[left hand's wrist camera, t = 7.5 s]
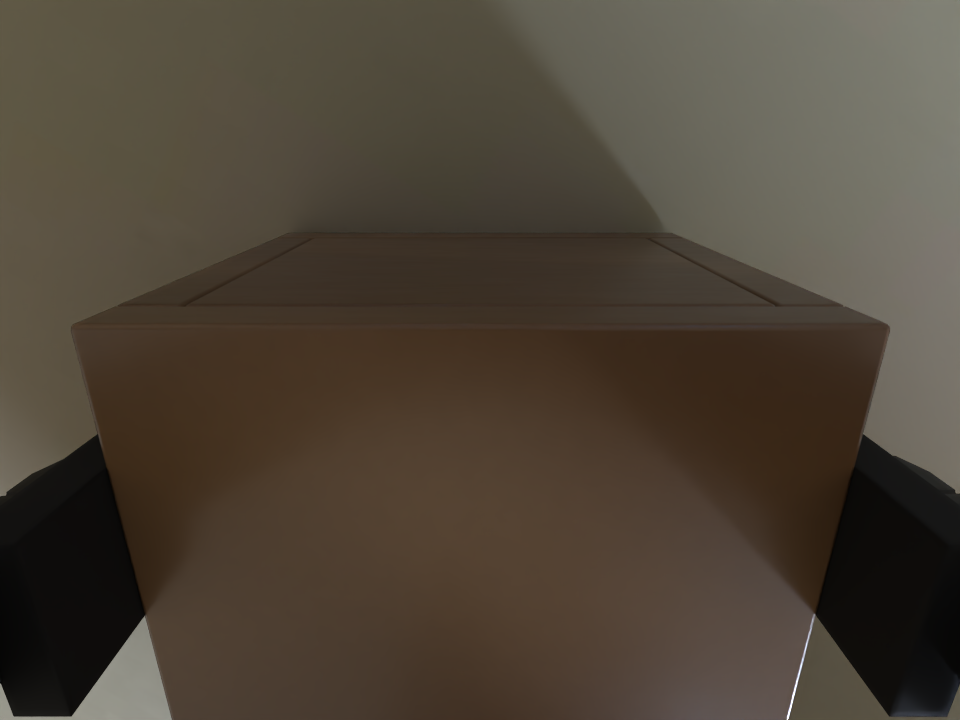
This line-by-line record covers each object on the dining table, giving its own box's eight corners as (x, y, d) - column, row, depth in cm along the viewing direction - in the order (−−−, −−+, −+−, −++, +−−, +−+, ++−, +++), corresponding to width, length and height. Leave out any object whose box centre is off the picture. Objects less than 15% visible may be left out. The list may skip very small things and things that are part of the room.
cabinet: (617, 712, 22) (702, 1056, 14) (342, 712, 22) (257, 1056, 14) (673, 232, 16) (895, 324, 7) (286, 232, 16) (66, 324, 7)
